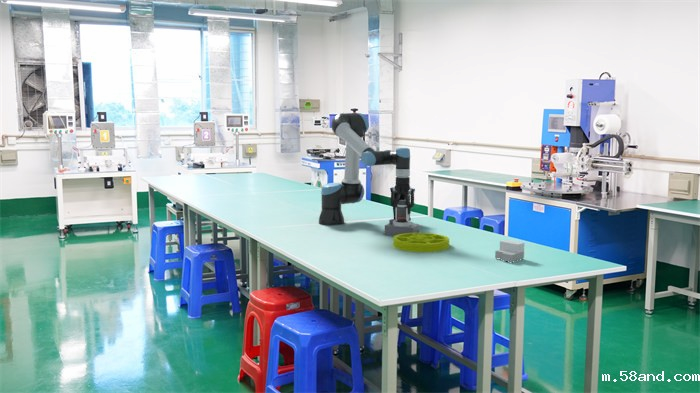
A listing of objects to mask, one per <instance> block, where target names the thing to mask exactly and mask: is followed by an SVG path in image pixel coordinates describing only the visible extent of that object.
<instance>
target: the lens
mask: <svg viewBox="0 0 700 393" xmlns="http://www.w3.org/2000/svg"><path fill="white" fill-rule="evenodd" d="M397 206H398V207H397V222H401V223H405V222H407V220H406V208H407V203H406V200H398V204H397Z"/></svg>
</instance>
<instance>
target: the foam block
mask: <svg viewBox="0 0 700 393" xmlns="http://www.w3.org/2000/svg"><path fill="white" fill-rule="evenodd" d="M494 253H495V255H494V257H495V258H500V259H502V260H504V261H509V262H513V261H517V260H520V259H523V258H524V259H525V242H521V241H516V240H510V239H503V240H500V241H499V249H498V250H495V252H494ZM495 258H494V259H495ZM524 259H523V260H524ZM502 260H501V261H502ZM520 261H521V260H520ZM517 262H518V261H517Z"/></svg>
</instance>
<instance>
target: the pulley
mask: <svg viewBox="0 0 700 393" xmlns="http://www.w3.org/2000/svg"><path fill="white" fill-rule="evenodd" d="M392 246H393V248H394V249H397V250H401V251H406V252H412V253H434V251H437V252H441V250H443V251H446V250H448V249H449V248H450V238H449V237H448V236H446V235H444V234H438V233H431V232H419V233H404V234H399V235H396V236H393V237H392ZM447 248H448V249H447ZM445 249H446V250H445Z"/></svg>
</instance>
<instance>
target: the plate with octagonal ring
mask: <svg viewBox="0 0 700 393" xmlns="http://www.w3.org/2000/svg"><path fill="white" fill-rule="evenodd" d="M388 222H389V223H387V224H385V225H384V235H385V236H393V237H394V236H396V235H399V234H404V233H420V224H419V223H418V224H417V223H412V221H409V220H407V222H405V223H401V222H397V220H396V219H394V218H391V219H389V221H388Z"/></svg>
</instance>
